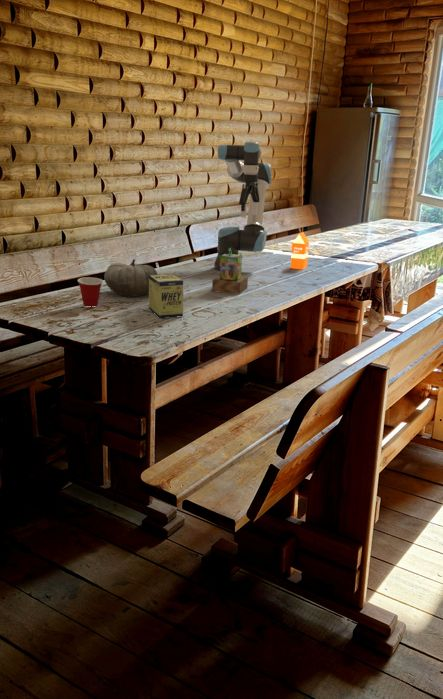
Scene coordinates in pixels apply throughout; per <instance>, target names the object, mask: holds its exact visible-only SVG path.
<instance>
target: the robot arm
mask: <svg viewBox="0 0 443 699" xmlns="http://www.w3.org/2000/svg"><path fill="white" fill-rule="evenodd" d="M261 154H262V152H261V148H260V143H259V142H257V141H246V142H244V144H243V145H241V144H239V145H237V144H236V145H235V144H226V143H225V144H219V145H218V147H217V159H218V160H221V161H224V162H225V164H226V171H227V173H228V175H229V177H230V178H232V179H233V180H235V181H236V182H238V183H242V187H241V188H242V189H241V193H240V197H239V200H238V204H239V205H240V218H243V219H244V218H245V219H246V218H247V220H246V221H247V222H246V224H245V225H244V226H243V229H240V227H239V226H227V227H225V226H224V227H222V228H220V229H219V230H218V233H217V255H216V258H215V260H214V265H213V268H214V270H217V271H220V256H221V255H223V254H229V251H228V249H229V248H231V251H232V254H237V255H239V252H240V251H241V252H253V253H257V252H259V253H260V252H263V251H264V249H265V247H266V246H265V245H266V242H267V234H268V233H267V231H266V230H265V227H264V226H263V221H264V212H265V211H264V209H265V198H266V190H267V189H268V188H269V185H271V184H272V170H271V167H272V166H271V164H270V163H268V162H259V159H260V158H261ZM248 199H249V201H248ZM247 201H248V211H247ZM231 251H230V254H231Z"/></svg>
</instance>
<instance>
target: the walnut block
mask: <svg viewBox="0 0 443 699" xmlns="http://www.w3.org/2000/svg"><path fill="white" fill-rule="evenodd" d="M248 280H249V277H248V276H244V275H241V278H240V279H239V280H237V281H235V280H220V274H219V275H218V276H216V277H214V278H213V279H212V283H211V284H212V286H211V289H212V290H211V291H212V292H215V291H219V292H218V293H225V292H226V293H227V294H237V295H241V294H242V293H243V292H244V291H246V290H247V289H248ZM226 293H225V294H226Z"/></svg>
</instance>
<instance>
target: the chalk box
mask: <svg viewBox="0 0 443 699" xmlns="http://www.w3.org/2000/svg"><path fill="white" fill-rule="evenodd" d="M228 251H229V254H223V255H221V256H220V270H219V275H220V280H235V281H237V280H239V279H240V278H241V276H242V272H243V271H242V268H243V267H242V266H243V265H242V264H243V255H242V254H238V255H237V254H232V251H231V248H229V249H228ZM230 251H231V254H230Z"/></svg>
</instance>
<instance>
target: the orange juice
mask: <svg viewBox="0 0 443 699" xmlns="http://www.w3.org/2000/svg"><path fill="white" fill-rule="evenodd" d="M309 244H310V241H309V240H308V238H307V236H306V235H305V233H304V231H302V232H299V234H298V235H297V236H296V237H295V239H294V240H293V242H292V243H291V256H290V269H295V270H296V269H297V270H305V269H306V268H307V267H308V261H309V260H308V259H309Z"/></svg>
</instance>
